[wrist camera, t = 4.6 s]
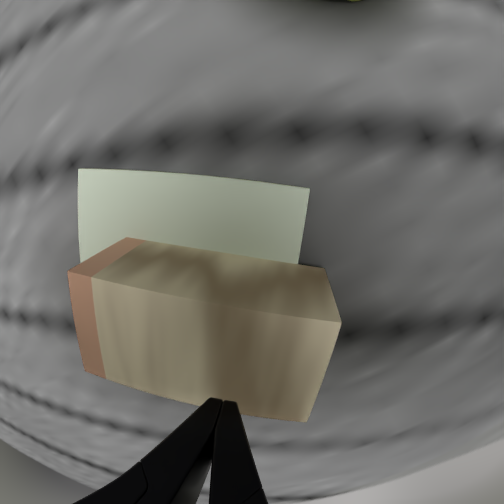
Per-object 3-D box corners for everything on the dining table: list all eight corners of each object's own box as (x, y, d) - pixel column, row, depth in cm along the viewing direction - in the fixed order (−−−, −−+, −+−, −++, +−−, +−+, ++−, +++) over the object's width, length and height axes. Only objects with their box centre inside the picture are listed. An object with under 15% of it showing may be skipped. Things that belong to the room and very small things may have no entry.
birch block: (341, 322, 9) (67, 271, 10) (306, 422, 11) (85, 370, 11) (324, 268, 14) (126, 237, 15) (303, 353, 15) (129, 320, 16)
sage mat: (309, 188, 13) (309, 189, 13) (271, 389, 17) (271, 394, 17) (83, 168, 14) (78, 168, 14) (97, 349, 18) (93, 353, 17)
